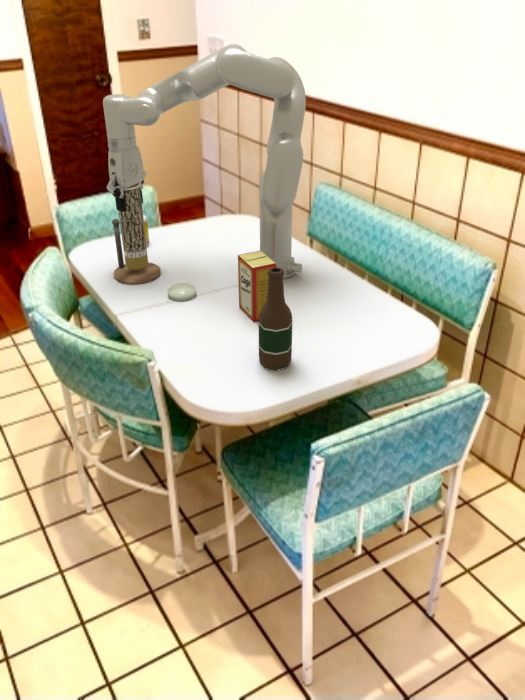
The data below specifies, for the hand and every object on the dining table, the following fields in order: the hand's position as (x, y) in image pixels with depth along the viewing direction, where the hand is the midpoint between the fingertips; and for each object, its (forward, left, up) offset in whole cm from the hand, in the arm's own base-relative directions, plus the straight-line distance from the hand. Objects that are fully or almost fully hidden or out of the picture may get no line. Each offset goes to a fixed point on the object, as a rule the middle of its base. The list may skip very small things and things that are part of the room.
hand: (130, 206), depth 183 cm
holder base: (0, 0, -22) cm, 22 cm away
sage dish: (-20, +5, -22) cm, 30 cm away
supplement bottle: (+14, -19, -22) cm, 32 cm away
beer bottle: (-60, +24, -22) cm, 68 cm away
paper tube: (0, 0, -19) cm, 19 cm away
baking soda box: (-44, +4, -22) cm, 49 cm away
